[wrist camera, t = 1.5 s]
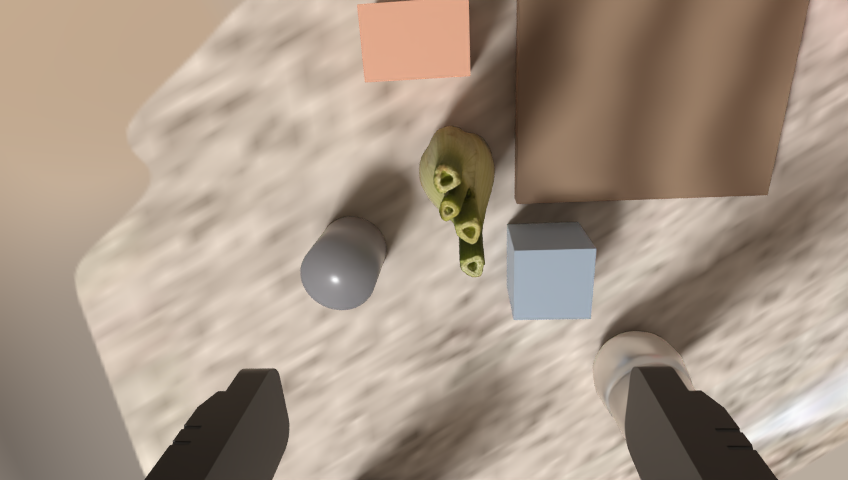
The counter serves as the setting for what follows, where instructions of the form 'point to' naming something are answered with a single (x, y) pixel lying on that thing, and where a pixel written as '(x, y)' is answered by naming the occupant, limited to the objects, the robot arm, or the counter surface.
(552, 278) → the smoky blue cube
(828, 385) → the counter surface
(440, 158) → the fennel bulb
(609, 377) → the plastic bottle
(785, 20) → the walnut board
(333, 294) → the grey rounded capsule
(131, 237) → the counter surface
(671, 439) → the robot arm
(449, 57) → the terracotta block
